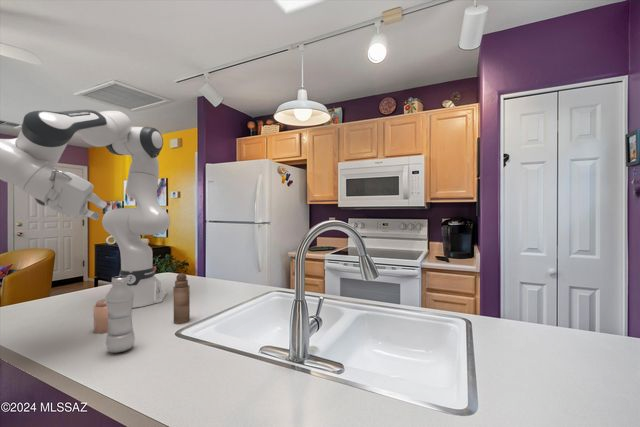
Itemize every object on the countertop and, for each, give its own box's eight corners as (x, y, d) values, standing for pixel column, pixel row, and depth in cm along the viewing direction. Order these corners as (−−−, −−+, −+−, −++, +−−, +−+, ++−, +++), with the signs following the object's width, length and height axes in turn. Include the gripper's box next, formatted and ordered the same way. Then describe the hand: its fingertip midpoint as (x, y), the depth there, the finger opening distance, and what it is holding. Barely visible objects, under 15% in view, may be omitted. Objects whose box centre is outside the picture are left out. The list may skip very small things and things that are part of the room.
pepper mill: (176, 319, 105) (176, 271, 105) (191, 318, 106) (191, 271, 105) (171, 324, 100) (171, 274, 100) (187, 323, 101) (187, 274, 100)
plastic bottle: (121, 357, 78) (120, 280, 77) (99, 354, 79) (98, 279, 79) (140, 346, 84) (140, 275, 84) (120, 344, 85) (119, 274, 85)
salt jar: (100, 327, 98) (100, 299, 98) (118, 326, 99) (118, 298, 99) (89, 334, 92) (89, 304, 92) (109, 332, 93) (109, 303, 93)
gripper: (61, 159, 76) (116, 190, 82) (54, 190, 90) (102, 215, 96) (42, 176, 72) (101, 207, 79) (37, 206, 86) (88, 231, 92)
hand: (101, 212), depth 87 cm, fingers open, 8 cm apart
